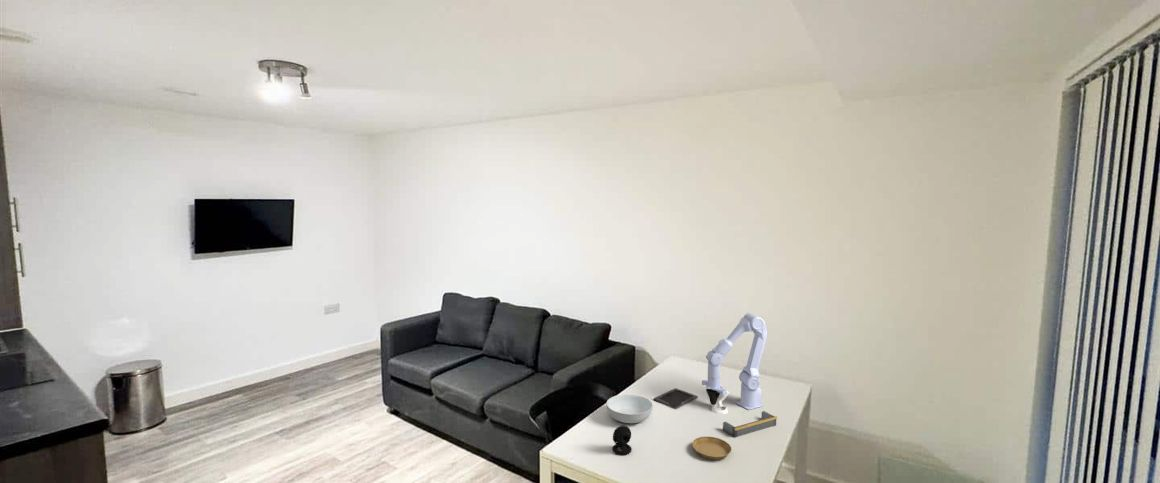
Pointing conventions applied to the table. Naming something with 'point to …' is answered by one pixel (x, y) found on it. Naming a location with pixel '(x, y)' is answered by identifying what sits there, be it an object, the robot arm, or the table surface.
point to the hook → (720, 405)
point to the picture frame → (675, 398)
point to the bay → (751, 425)
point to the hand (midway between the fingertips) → (713, 404)
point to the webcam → (622, 440)
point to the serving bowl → (629, 408)
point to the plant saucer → (711, 447)
